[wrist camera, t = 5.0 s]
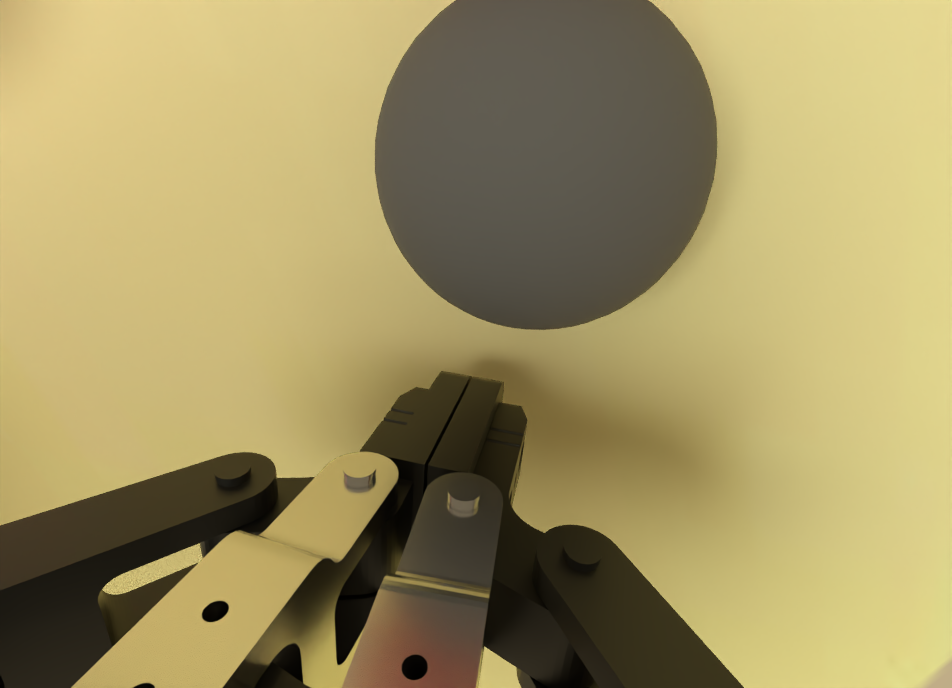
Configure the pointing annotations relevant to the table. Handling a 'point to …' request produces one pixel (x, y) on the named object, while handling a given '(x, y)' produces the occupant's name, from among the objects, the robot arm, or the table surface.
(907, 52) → the table surface
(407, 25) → the table surface
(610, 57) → the dark gray ball
